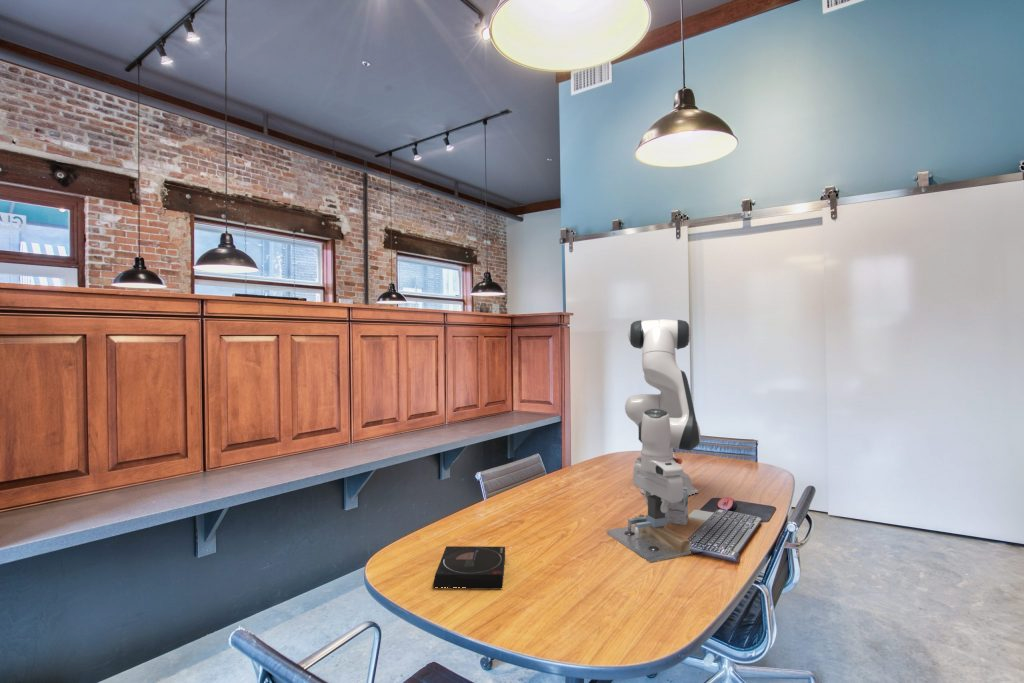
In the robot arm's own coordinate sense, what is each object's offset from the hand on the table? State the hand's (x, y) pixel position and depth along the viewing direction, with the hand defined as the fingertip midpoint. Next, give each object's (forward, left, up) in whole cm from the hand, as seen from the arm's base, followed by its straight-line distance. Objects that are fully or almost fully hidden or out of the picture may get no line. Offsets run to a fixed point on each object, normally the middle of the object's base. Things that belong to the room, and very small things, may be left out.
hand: (656, 508), depth 151 cm
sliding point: (+3, 0, -8) cm, 8 cm away
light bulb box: (-14, -11, -9) cm, 20 cm away
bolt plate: (+3, +2, -9) cm, 10 cm away
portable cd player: (+59, +1, -10) cm, 60 cm away
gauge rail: (+3, +2, -8) cm, 9 cm away
